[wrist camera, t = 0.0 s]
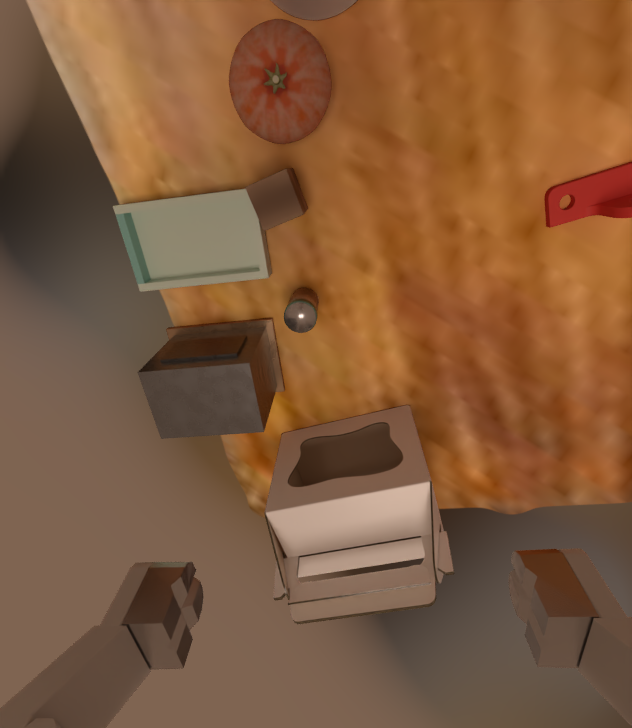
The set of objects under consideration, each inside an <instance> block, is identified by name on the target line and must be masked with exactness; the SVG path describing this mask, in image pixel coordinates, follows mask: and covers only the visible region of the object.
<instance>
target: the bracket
mask: <svg viewBox="0 0 632 728" xmlns="http://www.w3.org/2000/svg"><path fill="white" fill-rule="evenodd" d="M567 194H568V195H569V196H570V197H571V202H570V204H569V206H568V207H567V208H565V209H561V208H560V206H559V203H560V200H561V198H562V197H563V196H565V195H567ZM545 212H546V226H547V227H554V226H557V225H560V224H564V223H567V222H570V221H574V220H577V219H580V218H584V217H587V216H592V215H602V216H607V217H613V218H631V217H632V162H629V163H626V164H623V165H620V166H617V167H614V168H610V169H607V170H604V171H601V172H598V173H595V174H591V175H588V176H585V177H582V178H579V179H576V180H572V181H569V182H566V183H563V184H560V185H557V186H553V187H551V188H550V189H549V190H548V191H547V192H546V194H545Z"/></svg>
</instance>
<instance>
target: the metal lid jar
mask: <svg viewBox="0 0 632 728" xmlns="http://www.w3.org/2000/svg"><path fill="white" fill-rule="evenodd" d="M318 303H319V300H318V296H317V294H316V293H315V292H314V291H313V290H312V289H309V288H305V287H304V288H299V289H297V290H296V291H294V293H293V294H292V296H291V299H290V301H289V304H288V305H287V307H286V310H285V312H284V321H285V323H286V325H287V326H288V327H289V328H290V329H291V330H292V331H295V332H298V333H303V332H307V331H309V330H311V329H312V328H313V327H314V325H315V324H316V320H317V309H318Z"/></svg>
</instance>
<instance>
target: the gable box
mask: <svg viewBox="0 0 632 728" xmlns="http://www.w3.org/2000/svg"><path fill="white" fill-rule="evenodd" d="M265 518H266V522H267V525H268V529H269V533H270V537H271V541H272V545H273V549H274V553H275V557H276V571H275V586H274V600H281V599H282V598H283V597H284V596H285V595H286V596H287V598H288V600H289V602H288V605H290V609H291V617H292V619H293V621H294V622H295V623H297V624H303V623H310V622H319V621H326V620H332V619H340V618H348V617H355V616H363V615H370V614H378V613H386V612H393V611H400V610H408V609H415V608H423V607H429V606H432V605H433V604H434V603H435V600H436V581H437V583H441V581H442V577H443V573H444V574H445V575H452V574H454V570H453V565H452V559H451V553H450V548H449V542H448V537H447V532H444V530H443V526H442V522H441V518H440V514H439V510H438V506H437V502H436V497H435V493H434V489H433V485H432V481H431V478H430V474H429V471H428V467H427V464H426V460H425V457H424V453H423V450H422V446H421V443H420V439H419V436H418V433H417V429H416V426H415V422H414V419H413V415H412V412H411V408H410V406H409V405H405V406H400V407H396V408H392V409H387V410H383V411H379V412H374V413H370V414H365V415H361V416H357V417H352V418H348V419H343V420H339V421H335V422H330V423H326V424H321V425H317V426H313V427H308V428H304V429H300V430H295V431H291V432H286V433H283V434H282V436H281V441H280V445H279V450H278V454H277V459H276V463H275V468H274V472H273V477H272V482H271V486H270V491H269V495H268V500H267V504H266V509H265ZM419 558H424V560H423V562H422V563H421V565H412V566H411V567H405V568H399V569H392V570H385V571H379V572H372V573H366V574H360V575H354V576H347V577H340V578H334V579H327V580H320V581H315V582H310V581H308V582H304V583H301V582H300V581H299V580H298V577H304V576H310V575H317V574H323V573H329V572H335V571H342V570H349V569H355V568H361V567H368V566H374V565H381V564H387V563H393V562H400V561H405V560H412V559H419ZM435 578H436V579H435Z"/></svg>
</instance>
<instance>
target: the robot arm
mask: <svg viewBox="0 0 632 728" xmlns="http://www.w3.org/2000/svg"><path fill="white" fill-rule="evenodd" d="M271 1H272V2H273V3H274V4H275V5H276V6H277V7H279V8H280V9H281V10H283V11H284V12H286V13H288V14H290V15H292V16H294V17H297V18H301V19H306V20H322V19H327V18H330V17H333V16H335V15H338V14H340V13H341V12H343V11H345V10H346V9H348V8H349V7H350V6H352V5H353V4H354V3H355V2H356V1H357V0H271ZM511 562H512V564H513V566H514V570H513V571H512V572H510V573H509V590H510V596H511V600H512V603H513V606H514V609H515V611H516V614H517V616H518V617H519V618H520V619H521V620H523V621H524V622H525V623H526V624H527V626H526V632H525V637H526V639H527V642H528V644H529V647H530V649H531V651H532V654H533V657H534V659H535V662H536V664H537V667H556V668H557V667H558V668H559V667H560V668H578V671H579V672H580V673H581V674H582V675H583V676H584V677H585V678H586V679H587V680H588V681H589V682H590V683H591V684H592V686H593V687H594V688H596V690H597V691H598V692H599V693H600V694H601V695H602V696H603V697H604V698H605V699H606V700H607V701H608V702H609V703H610V704H611V705H612V706H613V707H614V709H616V711H617V712H618V713H619V714H620V715H621V716H622V717H623V718H624V719H625V720H626V721H627V722H628V723H629V724H630V725H631V726H632V618H630V617H629V618H628V617H627V616H626V614H625V613H624V611H623V610H622V608H621V606H620V605H619V603H618V602H617V600H616V599H615V597H614V596H613V594H612V593H611V591H610V589H609V588H608V586H607V585H606V583H605V582H604V580H603V579H602V577H601V575H600V574H599V572H598V571H597V570H596V568H595V566H594V565H593V563H592V562H591V560H590V558H589V557H588V555H587V554H586V552H584V551H583V550H582V549H559V550H557V549H546V550H545V549H543V550H524V551H514V553H513V554H512V560H511ZM195 572H196V569H195V567H194V564H193V562H145V563H135V564H134V565H133V566H132V567H131V568H130V570H129V572H128V573H127V575H126V577H125V579H124V581H123V583H122V585H121V586H120V588H119V590H118V592H117V594H116V596H115V598H114V600H113V602H112V603H111V605H110V607H109V609H108V611H107V613H106V615H105V617H104V619H103V621H102V623H101V624H100V626H94V627H92V628H91V629H90V630H89V631H88V632H87V633H86V634H84V635H83V636H82V637H81V638H80V639H79V640H78V641H76V642H75V643H74V644H73V645H72V646H71V647H70V648H68V649H67V650H66V651H65V652H64V653H63V654H62V655H60V656H59V657H58V658H57V659H56V660H55V661H54V662H53V663H52V664H50V665H49V666H48V667H47V668H46V669H45V670H43V671H42V672H41V673H40V674H39V675H38V676H37V677H35V678H34V679H33V680H32V681H31V682H30V683H29V684H27V685H26V686H25V687H24V688H23V689H22V690H21V691H19V692H18V693H17V694H16V695H15V696H14V697H13V698H11V699H10V700H9V701H8V702H7V703H6V704H5V705H3V706H2V707H1V708H0V728H106V727H107V726H108V724H109V723H110V722H111V721H112V719H113V718H114V717H115V716H116V714H117V713H118V712H119V711H120V709H121V708H122V707H123V706H124V704H125V703H126V702H127V701H128V699H129V698H130V697H131V696H132V694H133V693H134V692H135V691H136V690H137V688H138V687H139V686H140V685H141V683H142V682H143V681H144V680H145V678H146V677H147V676H148V675H149V673H150V672H151V671H150V670H151V669H178V668H184V665H185V662H186V659H187V656H188V653H189V650H190V646H191V643H192V640H193V639H192V635H191V632H190V629H191V628H192V627H193V626H194V625H195V624H196V623H197V622H198V621H199V617H200V614H201V611H202V604H203V589H202V585H201V582H200V581H199V580H197V579H196V578H195V577H194V575H195Z"/></svg>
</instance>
